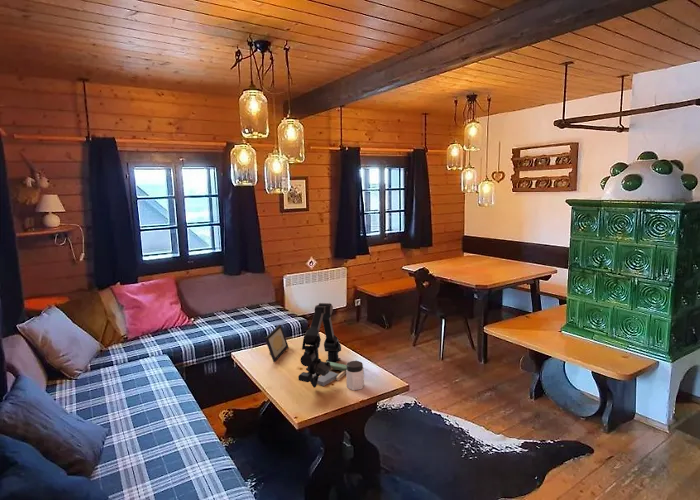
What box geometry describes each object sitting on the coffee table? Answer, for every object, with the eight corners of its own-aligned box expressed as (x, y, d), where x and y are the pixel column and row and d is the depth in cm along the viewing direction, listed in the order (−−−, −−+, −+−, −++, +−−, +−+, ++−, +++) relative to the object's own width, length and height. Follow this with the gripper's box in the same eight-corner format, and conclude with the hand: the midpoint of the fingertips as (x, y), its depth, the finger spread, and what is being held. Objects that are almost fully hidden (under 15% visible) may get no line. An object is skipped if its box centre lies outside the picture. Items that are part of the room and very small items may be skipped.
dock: (328, 367, 244) (327, 360, 244) (353, 372, 236) (352, 365, 236) (315, 376, 234) (315, 369, 233) (341, 381, 226) (341, 375, 225)
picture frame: (275, 361, 254) (270, 337, 252) (261, 362, 256) (256, 338, 254) (288, 346, 277) (284, 324, 274) (275, 347, 278) (271, 325, 276)
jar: (348, 391, 215) (347, 368, 213) (345, 384, 223) (344, 362, 221) (366, 388, 217) (365, 366, 215) (362, 381, 225) (361, 359, 223)
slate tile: (330, 375, 235) (330, 371, 234) (338, 378, 231) (338, 373, 231) (314, 383, 226) (314, 379, 225) (323, 387, 222) (323, 382, 222)
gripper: (316, 368, 204) (317, 399, 206) (336, 353, 220) (338, 382, 222) (296, 364, 209) (298, 394, 212) (318, 350, 225) (319, 378, 228)
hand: (314, 387), depth 218 cm, fingers closed
